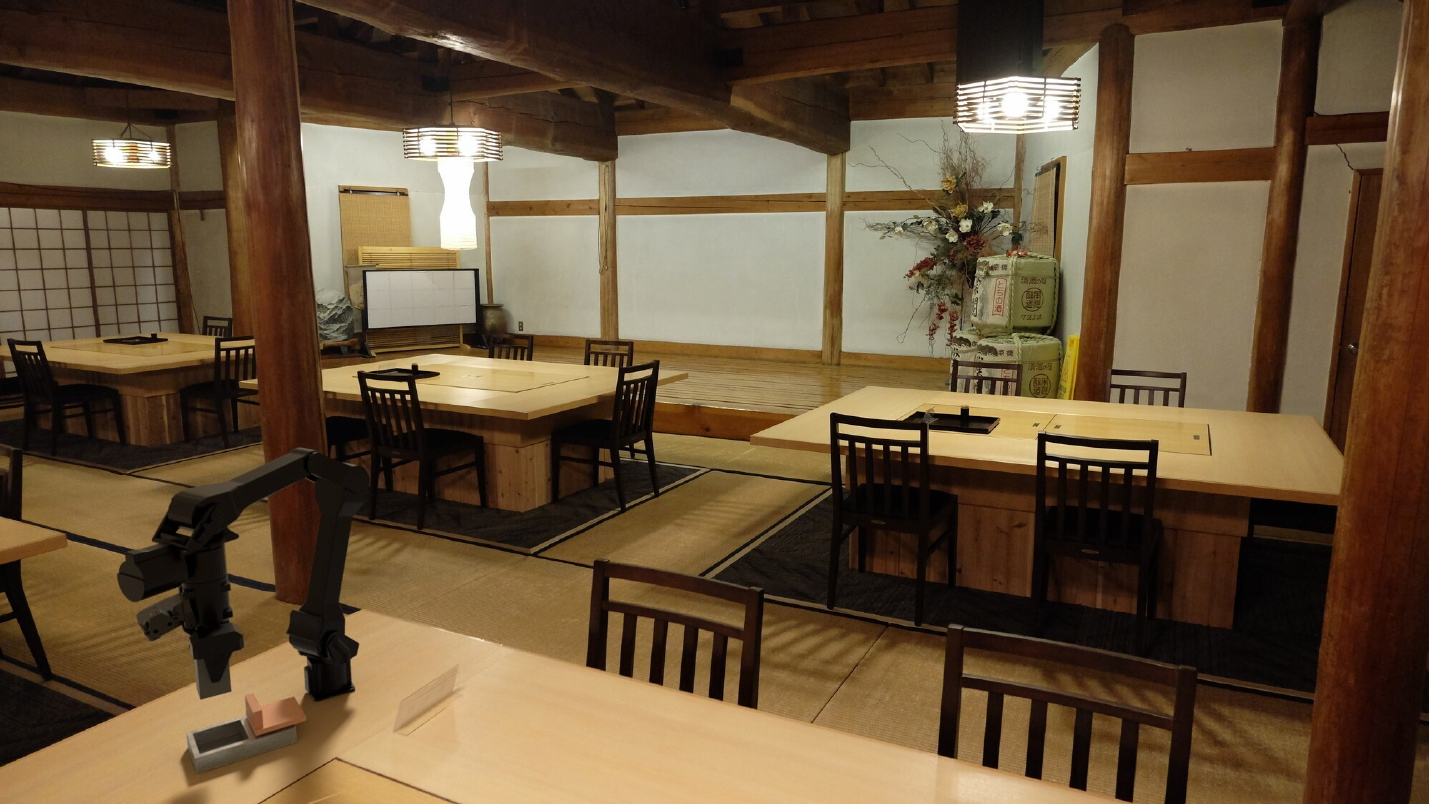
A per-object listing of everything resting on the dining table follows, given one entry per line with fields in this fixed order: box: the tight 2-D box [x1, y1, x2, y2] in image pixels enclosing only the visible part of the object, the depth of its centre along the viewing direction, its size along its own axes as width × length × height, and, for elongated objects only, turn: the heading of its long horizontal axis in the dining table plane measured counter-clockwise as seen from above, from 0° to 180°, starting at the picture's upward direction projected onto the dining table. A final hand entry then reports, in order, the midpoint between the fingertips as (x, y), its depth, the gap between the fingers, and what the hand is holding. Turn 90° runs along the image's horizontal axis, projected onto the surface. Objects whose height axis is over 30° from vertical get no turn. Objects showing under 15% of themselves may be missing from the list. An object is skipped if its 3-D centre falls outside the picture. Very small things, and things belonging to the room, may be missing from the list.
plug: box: [193, 659, 232, 700], centre depth 127 cm, size 4×4×8 cm
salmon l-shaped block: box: [244, 692, 307, 736], centre depth 133 cm, size 7×7×4 cm
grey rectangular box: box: [185, 714, 298, 775], centre depth 131 cm, size 13×8×2 cm, turn 129°
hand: (213, 675), depth 127 cm, fingers closed on plug, 4 cm apart
